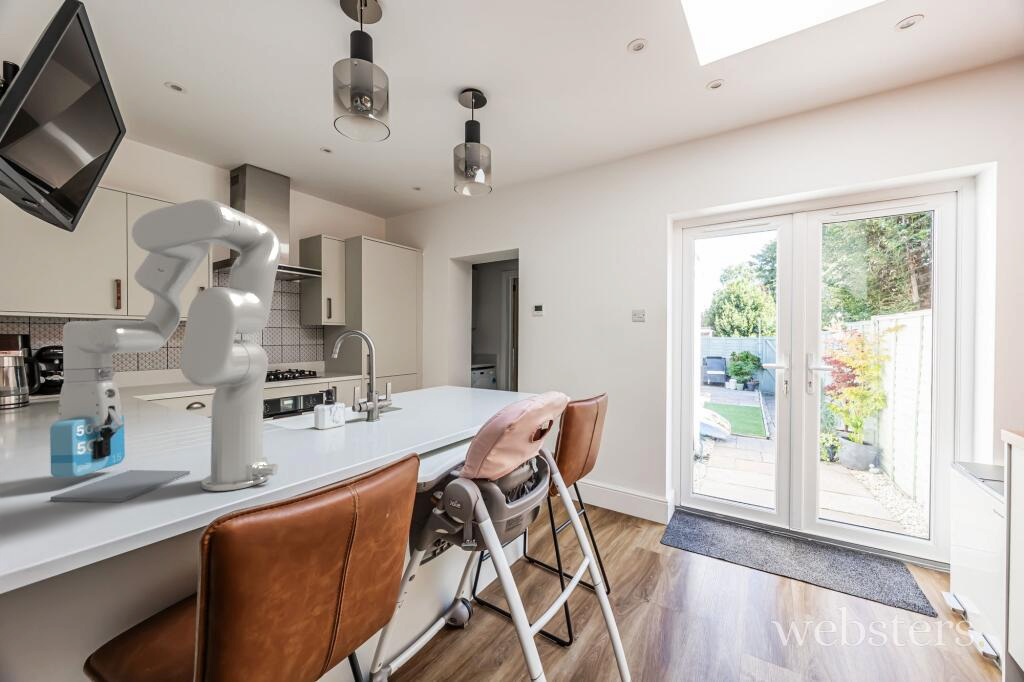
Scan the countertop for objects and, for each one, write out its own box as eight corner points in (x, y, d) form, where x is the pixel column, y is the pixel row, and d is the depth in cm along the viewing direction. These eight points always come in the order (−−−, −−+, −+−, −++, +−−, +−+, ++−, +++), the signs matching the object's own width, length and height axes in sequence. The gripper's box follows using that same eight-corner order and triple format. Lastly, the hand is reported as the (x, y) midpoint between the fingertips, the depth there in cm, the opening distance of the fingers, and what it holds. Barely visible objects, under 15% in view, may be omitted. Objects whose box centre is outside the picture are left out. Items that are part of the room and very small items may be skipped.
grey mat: (189, 474, 93) (189, 470, 93) (122, 502, 77) (122, 498, 77) (130, 473, 93) (130, 470, 93) (50, 501, 77) (50, 496, 77)
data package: (72, 479, 83) (71, 421, 83) (50, 479, 83) (49, 422, 83) (125, 461, 95) (124, 411, 95) (105, 462, 95) (104, 412, 95)
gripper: (142, 374, 93) (143, 452, 93) (70, 375, 93) (71, 453, 93) (109, 377, 85) (110, 462, 85) (31, 378, 85) (32, 463, 85)
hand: (90, 456), depth 89 cm, fingers closed on data package, 4 cm apart
